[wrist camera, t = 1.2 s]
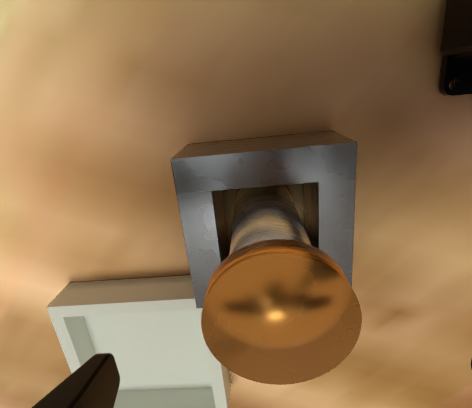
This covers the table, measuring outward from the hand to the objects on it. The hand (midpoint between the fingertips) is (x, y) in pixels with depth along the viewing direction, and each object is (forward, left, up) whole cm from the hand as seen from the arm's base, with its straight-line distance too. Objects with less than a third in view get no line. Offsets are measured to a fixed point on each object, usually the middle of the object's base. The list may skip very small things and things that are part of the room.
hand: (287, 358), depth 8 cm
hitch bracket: (0, 0, -11) cm, 11 cm away
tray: (+9, +10, -11) cm, 17 cm away
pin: (0, 0, -11) cm, 11 cm away
